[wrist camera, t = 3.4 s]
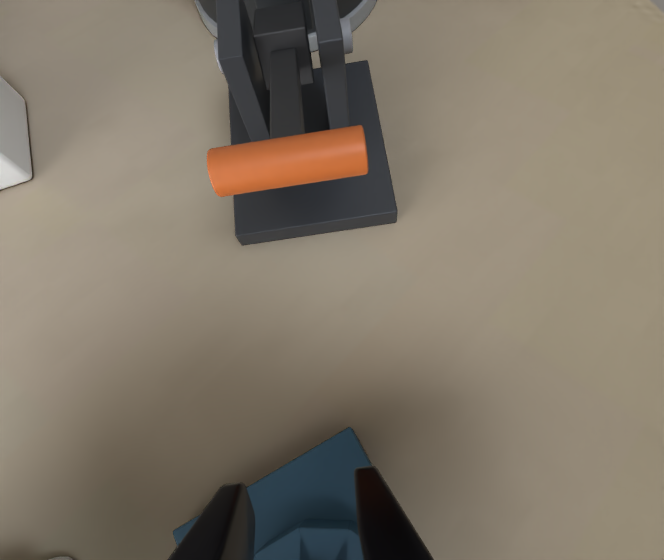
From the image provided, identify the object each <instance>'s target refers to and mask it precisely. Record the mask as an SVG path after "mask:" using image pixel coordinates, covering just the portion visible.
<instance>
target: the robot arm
mask: <svg viewBox="0 0 664 560" xmlns="http://www.w3.org/2000/svg"><path fill="white" fill-rule="evenodd" d="M354 484H355V499H356V514H357V526H358V534H359V540H360V545H361V550H362V556H363V560H434V559H433V557H432V556H431V554H430V553H429V551H428V549H427V548H426V546H425V545H424V543H423V541H422V540H421V538H420V536H419V535H418V533H417V532H416V530H415V528H414V527H413V525H412V524H411V522H410V520H409V519H408V517H407V516H406V514H405V512H404V511H403V509H402V507H401V506H400V504H399V503H398V501H397V499H396V498H395V496H394V495H393V493H392V491H391V490H390V488H389V487H388V485H387V483H386V482H385V480H384V478H383V477H382V475H381V474H380V472H379V470H378V469H377V468H376V467H375V466H365V467H357V468H356V469H355V470H354ZM254 544H255V513H254V509H253V506H252V503H251V500H250V497H249V494H248V490H247V488H246V486H245V484H244V483H241V482H240V483H232V484H225V485H223V486H222V487H220V489H219V490H218V491H217V493H216V494H215V495H214V497H213V498H212V499H211V501H210V502H209V504H208V505H207V506H206V508H205V509H204V510H203V512H202V513H201V515H200V516H199V517H198V519H197V520H196V521H195V523H194V524H193V525H192V527H191V528H190V530H189V531H188V532H187V534H186V535H185V536H184V538H183V539H182V541H181V542H180V543H179V545H178V546H177V547H176V549H175V550H174V552H173V553H172V554H171V556H170V557H169V558H168V560H254Z"/></svg>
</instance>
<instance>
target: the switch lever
mask: <svg viewBox="0 0 664 560" xmlns="http://www.w3.org/2000/svg"><path fill="white" fill-rule="evenodd" d="M253 39H254V43H255V47H256V51H257V55H258V59H259V63H260V67H261V71H262V75H263V79H264V83H265V87H266V89H267V90H270V139H268V140H262V141H256V142H249V143H243V144H237V145H230V146H224V147H218V148H211V149H210V150H208V153H207V167H208V173H209V177H210V181H211V184H212V186H213V189H214V191H215V192H216V194H217V195H218V196H220V197H224V196H230V195H237V194H243V193H250V192H256V191H263V190H269V189H276V188H282V187H289V186H295V185H302V184H308V183H315V182H321V181H328V180H334V179H341V178H347V177H354V176H360V175H366V174H368V156H367V147H366V140H365V134H364V130H363V127H362V125H357V126H350V127H344V128H338V129H331V130H325V131H319V132H312V133H306V134H305V129H304V117H303V105H302V93H301V85H304V84H310V83H314V75H313V67H312V59H311V51H310V45H309V39H308V32H307V26H306V19H305V13H304V7H303V3H302V2H296V3H290V4H284V5H278V6H272V7H266V8H260V9H256V10H255V13H254V30H253Z"/></svg>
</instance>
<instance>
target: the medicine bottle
mask: <svg viewBox="0 0 664 560" xmlns="http://www.w3.org/2000/svg"><path fill="white" fill-rule="evenodd" d="M31 178H32V166H31V156H30V146H29V136H28V125H27V115H26V105H25V101H24V99H23V97H21V96H20V95H19V94H18V93H17V92H16V91H15V90H14V89H13V88H12V87H11V86H10V85H9V84H8V83H7V82H6V81H5V80H4V79H3V78H2V77H1V76H0V190H1V189H4V188H7V187H10V186H13V185H16V184H19V183H22V182H25V181H28V180H30V179H31Z"/></svg>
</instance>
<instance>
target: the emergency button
mask: <svg viewBox="0 0 664 560" xmlns="http://www.w3.org/2000/svg"><path fill="white" fill-rule="evenodd" d="M48 560H73V559H72V558H70V557H55V558H52V559H48Z"/></svg>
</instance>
